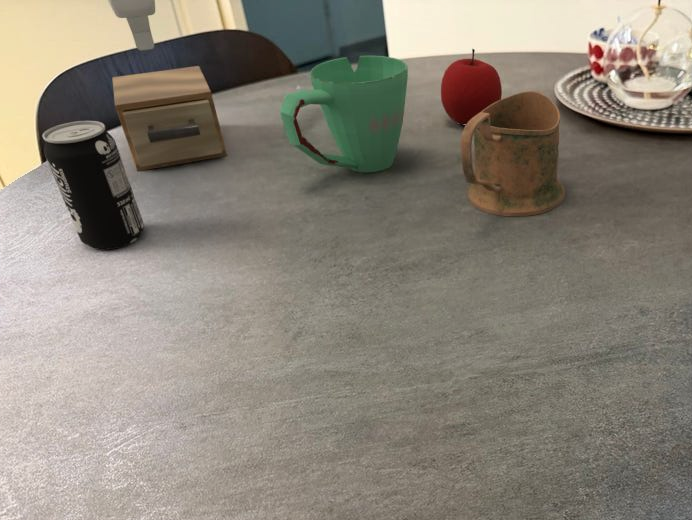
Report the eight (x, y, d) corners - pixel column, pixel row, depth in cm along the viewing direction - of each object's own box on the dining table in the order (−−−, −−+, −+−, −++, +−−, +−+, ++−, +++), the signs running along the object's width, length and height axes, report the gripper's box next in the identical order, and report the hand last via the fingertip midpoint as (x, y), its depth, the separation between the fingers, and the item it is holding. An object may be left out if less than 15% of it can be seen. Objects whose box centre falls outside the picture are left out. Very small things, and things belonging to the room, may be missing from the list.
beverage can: (72, 239, 77) (27, 132, 70) (130, 218, 81) (92, 114, 73) (98, 258, 73) (53, 147, 66) (157, 236, 77) (120, 128, 70)
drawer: (226, 163, 91) (213, 111, 87) (142, 178, 88) (123, 124, 84) (210, 124, 103) (198, 76, 99) (135, 136, 100) (119, 87, 96)
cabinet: (227, 155, 96) (210, 91, 90) (137, 171, 92) (114, 105, 87) (214, 125, 106) (198, 65, 100) (132, 138, 102) (112, 77, 97)
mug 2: (423, 226, 77) (414, 118, 70) (494, 169, 90) (493, 71, 82) (517, 248, 73) (518, 134, 66) (579, 184, 85) (585, 82, 78)
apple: (431, 117, 106) (427, 47, 100) (484, 107, 109) (483, 38, 103) (457, 136, 99) (454, 62, 93) (513, 124, 102) (513, 52, 96)
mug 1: (374, 140, 99) (363, 50, 91) (434, 160, 92) (427, 65, 85) (270, 181, 88) (248, 83, 81) (329, 206, 82) (312, 102, 75)
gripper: (66, -115, 72) (111, 29, 81) (61, -99, 58) (116, 75, 66) (131, -118, 74) (168, 23, 83) (142, -103, 60) (186, 67, 68)
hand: (145, 46), depth 74 cm, fingers closed
